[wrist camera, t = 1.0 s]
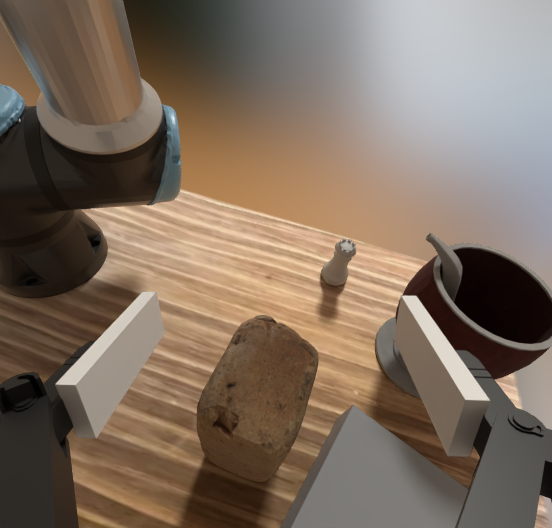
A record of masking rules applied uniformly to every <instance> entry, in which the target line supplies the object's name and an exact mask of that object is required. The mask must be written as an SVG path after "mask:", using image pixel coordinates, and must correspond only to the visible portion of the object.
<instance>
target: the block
mask: <svg viewBox="0 0 552 528" xmlns="http://www.w3.org/2000/svg"><path fill="white" fill-rule="evenodd" d="M317 367H318V353H317V350H316V349H315V348H314V347H313V346H312V345H311V344H310V343H309V342H308V341H306V340H304V339H302V338H301V337H300V336H299V334H298V333H296V332H295V331H294V330H292V329H291V328H289V327H288V326H286V325H284V324H282V323H277V322H276V321H275V320H274V319H273V318H272V317H270V316H266V315H259V316H256V317H254V318H253V319H249V320H248V321H246V322H244V323H242V324H241V325H240V327H239V328H238V329H237V331H236V332H235V334H234V335H233V337H232V339H231V342H230V344H229V345H228V347H227V349H226V351H225V353H224V355H223V356H222V358H221V360H220V361H219V363H218V365H217V366H216V368H215V370H214V372H213V374H212V375H211V377H210V379H209V381H208V383H207V385H206V386H205V388H204V390H203V392H202V395H201V397H200V400H199V403H198V406H197V432H198V436H199V439H200V442H201V447H202V450H203V452H204V454H205V455H206V457H207V458H208V460H210V461H211V462H212V463H214V464H215V465H217V466H219V467H221V468H223V469H225V470H227V471H229V472H232V473H234V474H236V475H238V476H240V477H243V478H245V479H249V480H252V481H257V482H264V481H266V480H268V479H269V478H270V477H271V476H273V474H274V473H275V472H276V471H277V470H278V468H279V467H280V465H281V464H282V462H283V461H284V459H285V458H286V456H287V454H288V453H289V451H290V449H291V447H292V445H293V444H294V441H295V439H296V437H297V434H298V432H299V429H300V427H301V424H302V421H303V418H304V415H305V411H306V407H307V404H308V400H309V397H310V393H311V390H312V387H313V383H314V380H315V376H316V372H317Z"/></svg>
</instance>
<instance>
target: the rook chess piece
mask: <svg viewBox="0 0 552 528" xmlns="http://www.w3.org/2000/svg"><path fill="white" fill-rule="evenodd" d="M351 241H352V240H350V239H348V241H346V239H342V241H341V240H340V242H338V243H337V244H336V245H335V249H336V250H335V252H334V257H333V259H332V260H330V261H329V262H327V263H326V264H325V265H324V267H323V269H322V270H321V275H322V277H323V279H324V280H325V281H326V282H327V283H328V284H330V285H334V286H338V285H342V284H344V283H345V282H346V280H347V277H348V269H347V265H348V262H349V261H350V260H351V258H352V257H353V256H354V255H355V254H356V247H355V245H356V244H355V243H351Z"/></svg>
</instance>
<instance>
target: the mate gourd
mask: <svg viewBox="0 0 552 528" xmlns="http://www.w3.org/2000/svg"><path fill="white" fill-rule="evenodd" d="M426 240H427V241H428V242H430V243H431V244H432V245H433V246H434V248H435V249H436V251H437V253H438V255H437V256H435V257H434V258H433V259H432V260H430V261H429V262H428V263H427V264H426V265H425V266H423V267H422V268H421V269H420V270H419V271H418V272H417V274H416V275H415V276H414V277H413V279H412V280H411V281H410V282H409V284H408V285H407V287H406V289H405V291H404V293H403V295H402V296H417V298H418V299H419V300H420V302H421V303H422V305H423V306H424V308H425V309H426V310H427V312H428V313H429V315H430V316H431V317H432V319H433V320H434V322H435V323H436V325H437V326H438V327H439V329H440V330H441V332H442V333H443V334H444V336H445V337H446V339H447V340H448V341H449V343H450V344H451V346H452V347H453V349H454V350H463V351H468V352H469V353H471V354H472V355H473V356H475V357H476V358H477V359H478V360H479V361H480V362H481V363H482V365H483V366H484V367H485V368H486V371H488V372H489V374H490V375H491V376H492V379H498V378H502V377H505V376H507V375H509V374H511V373H513V372H515V371H517V370H520V369H522V368H524V367H526V366H528V365H529V364H531V363H532V362H533V361H535V360H536V359H537V358H539V357H540V356H541V355H543V353H545V352H546V351H547V350H548V349H549V348H550V347H551V346H552V290H551V289H550V288H549V287H548V286H547V284H546V283H545V282H544V281H543V280H542V279H541V278H540V277H539V276H538V275H537V274H536V273H534V272H533V271H532V270H531V269H529V268H528V267H527V266H525V265H524V264H523V263H521V262H520V261H518V260H516V259H515V258H513V257H511V256H509V255H507V254H505V253H503V252H501V251H499V250H496V249H493V248H491V247H487V246H483V245H479V244H470V243H465V244H464V243H463V244H456V245H451V246H449V247H448V246H447V245H446V244H445V243H444V242H443V241H441V240H440V239H439V238H437V237H436V236H435V235H433V234H432V233H430V234H429V235H428V236H427V237H426ZM399 305H400V301H399V304H398V307H397V312H396V317H394V318H391V319H390V320H388V321H386V322H385V323H384V324H383V325H382V326H381V328H380V329H379V331H378V333H377V336H376V339H375V350H376V356H377V359H378V361H379V364H380V366H381V368H382V369H383V371H384V373H385V374H386V375H387V376H388V378H389V379H390V380H391V381H392V382H393V383H394V384H395V385H396V386H397V387H398V388H400V389H401V390H403V391H404V392H406V393H408V394H410V395H412V396H414V397H417V398H420V399H421V397H420V395H419V393H418V391H417V389H416V386H415V384H414V382H413V380H412V378H411V375H410V373H409V371H408V369H407V367H406V364H405V362H404V360H403V358H402V356H401V353H400V351H399V349H398V347H397V345H396V342H395V340H394V334H395V328H396V322H397V316H398V310H399Z"/></svg>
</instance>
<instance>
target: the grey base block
mask: <svg viewBox="0 0 552 528" xmlns="http://www.w3.org/2000/svg"><path fill="white" fill-rule="evenodd" d="M467 492H468V489H467V488H466V487H464V486H463V485H462V484H460V483H459V482H458V481H456V480H455V479H454V478H452V477H451V476H449V475H448V474H447V473H445V472H444V471H443V470H441V469H440V468H439V467H437V466H436V465H434V464H433V463H432V462H430V461H429V460H428V459H426V458H425V457H424V456H422V455H421V454H420V453H418V452H417V451H415V450H414V449H413V448H411V447H410V446H409V445H407V444H406V443H405V442H403V441H402V440H400V439H399V438H398V437H396V436H395V435H394V434H392V433H391V432H390V431H388V430H387V429H386V428H384V427H383V426H381V425H380V424H379V423H377V422H376V421H375V420H373V419H372V418H371V417H369V416H368V415H367V414H365V413H364V412H362V411H361V410H360V409H358V408H357V407H356V406H354V405H353V406H351V407H350V408H349V409H348V410H347V411H345V412H344V413H343V414H342V415H340V416H339V417H338V418H337V420H336V422H335V424H334V426H333V428H332V430H331V432H330V434H329V435H328V437H327V439H326V441H325V443H324V445H323V447H322V449H321V451H320V453H319V454H318V456H317V458H316V460H315V462H314V464H313V466H312V468H311V470H310V472H309V473H308V475H307V477H306V479H305V481H304V483H303V485H302V487H301V489H300V491H299V493H298V494H297V496H296V498H295V500H294V502H293V504H292V506H291V508H290V510H289V512H288V513H287V515H286V517H285V519H284V521H283V523H282V525H281V527H280V528H455V526H456V523H457V520H458V518H459V515H460V512H461V509H462V506H463V504H464V501H465V498H466V495H467Z"/></svg>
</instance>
